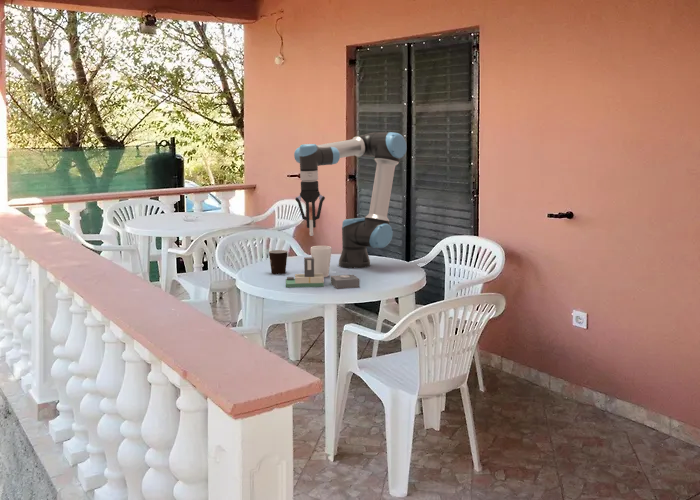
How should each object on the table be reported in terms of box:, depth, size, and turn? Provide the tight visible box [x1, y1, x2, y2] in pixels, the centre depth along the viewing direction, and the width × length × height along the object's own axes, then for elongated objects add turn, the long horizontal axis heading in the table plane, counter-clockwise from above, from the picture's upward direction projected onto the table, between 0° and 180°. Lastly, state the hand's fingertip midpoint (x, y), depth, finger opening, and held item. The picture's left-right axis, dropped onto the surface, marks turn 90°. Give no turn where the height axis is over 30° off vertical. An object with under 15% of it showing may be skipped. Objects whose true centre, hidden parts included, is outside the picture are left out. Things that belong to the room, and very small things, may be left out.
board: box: [285, 276, 325, 288], centre depth 323 cm, size 16×11×2 cm
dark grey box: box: [330, 274, 360, 290], centre depth 320 cm, size 10×10×4 cm
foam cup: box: [310, 245, 333, 278], centre depth 340 cm, size 10×9×13 cm
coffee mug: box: [268, 249, 288, 275], centre depth 349 cm, size 12×9×10 cm
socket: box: [294, 273, 325, 284], centre depth 321 cm, size 12×8×2 cm, turn 95°
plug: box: [303, 256, 314, 277], centre depth 320 cm, size 4×5×10 cm
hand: (311, 235), depth 326 cm, fingers closed
